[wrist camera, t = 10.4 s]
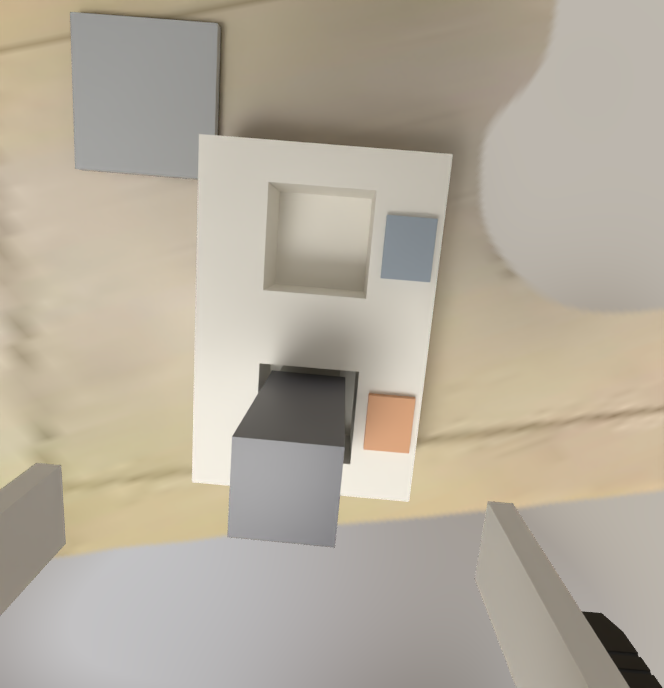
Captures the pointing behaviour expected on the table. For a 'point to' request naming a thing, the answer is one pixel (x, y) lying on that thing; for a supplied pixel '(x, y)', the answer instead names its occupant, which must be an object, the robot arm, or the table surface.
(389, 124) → the table surface
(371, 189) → the socket block
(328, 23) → the table surface
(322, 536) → the grey tall block
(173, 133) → the mat
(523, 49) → the table surface
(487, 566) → the robot arm
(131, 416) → the table surface
